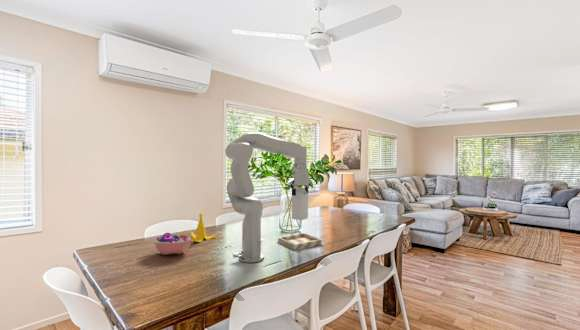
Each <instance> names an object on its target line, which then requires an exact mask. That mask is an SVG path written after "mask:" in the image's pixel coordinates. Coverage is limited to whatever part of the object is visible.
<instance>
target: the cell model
mask: <svg viewBox="0 0 580 330" xmlns="http://www.w3.org/2000/svg"><path fill="white" fill-rule="evenodd" d="M192 241H193V238H192V236H191V235H188V234H187V235H186V234H171V233H170V232H165V233H163V234H162V235H161V236H158V237H156V238H154V239H153V244H154V245H155V246H154V247H155V248H156V250H157V251H158V252H159V253H160V254H161V255H164V256H167V255H174V254H175V255H181V254H183V253H184V252H185V251H186V250H188V249H189V247H190V245H191V242H192Z"/></svg>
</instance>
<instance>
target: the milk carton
mask: <svg viewBox="0 0 580 330" xmlns="http://www.w3.org/2000/svg"><path fill="white" fill-rule="evenodd" d="M295 189H296V196H294V195H292V194H291V219H292V220H297V221H304V220H307V219H308V218H309V192H308V193H307V192H306V190H305V187H297V186H296V188H295Z"/></svg>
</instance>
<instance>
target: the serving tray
mask: <svg viewBox="0 0 580 330" xmlns="http://www.w3.org/2000/svg"><path fill="white" fill-rule="evenodd" d="M277 243H279V244H281V245H283V246H284V247H286V248H288V249H291V250H293V251H297V250H298V251H299V250H303V249H308V248H312V247H313V248H314V247H317V246H321V245H322V244H323V239H321V238H320V237H316V236H313V235H311V234H309V233H306V232H302V233H296V234H291V235H284V236H279V237H277Z"/></svg>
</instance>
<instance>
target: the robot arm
mask: <svg viewBox="0 0 580 330" xmlns="http://www.w3.org/2000/svg"><path fill="white" fill-rule="evenodd" d="M255 149H256V150H260V151H263V152H266V153H270V154H275V155H282V156H283V157H284V158H288V159H293V164H292V167H293V168H292V174H291V179H290V180H289V181H288V182H287V183H288V184H287V185H289V187H290V189H291V196H292V195H294V196H296V189H295V188H296V187H297V186H304V188H305V190H306V192H307V193H308V194H309V188H310V187H311V184H312V180H311V179H310V175H309V170H308V168H307V165H308V164H307V157H308V156H307V152H308V151H307V146H306V145H302V144H299V143H297V142H294V141H290V140H285V139H282V138H281V139H280V138H276V137H274V136H271V135H268V134H265V133H262V132H257V131H255V132H248V133H247V132H246V133H244V134H242V135H241V136H239V137H237V139H235V140H233V141H231V142H230V143H228V144H227V145H226V147H225V150H224V151H225V153H224V154H225V155H226V157H227V158H228V159H229V160H232V161H231V164H230V174H231V175H230V176H231V177H232V178H231V179H229V180H228V182H227V183H226V193H227V195H228V199H229V200H230V204H231V206H232V208H233V210H234V211H235V212H236V213H238V214H241V215H243V216H244V217H243V219H242V224H241V230H242V231H241V241H242V242H241V245H242V247H241V249H240V251H239V252H237V253H232V256H233V257H232V258H237V259H238V260H239V261H240V262H242V263H247V264H252V263H253V264H255V263H258V262H261V261H263V260H264V258H265V256H264V254H263V253H261V252H262V251H261V250H262V242H261V238H262V237H261V236H262V235H261V234H262V232H261V231H262V230H261V229H262V215H263V214H262V213H263V212H264V211H263V209H264V204H263V202H262V201H261V200H260V199H259V198H257V197H252V196H253V195H254V192H255V187H254V183H253V181H252V177H251V175H250V171H249V162H250V160H251V158H252V156H253V153H254V150H255Z"/></svg>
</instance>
